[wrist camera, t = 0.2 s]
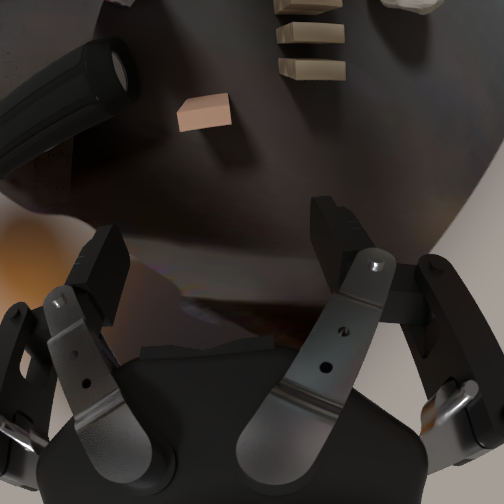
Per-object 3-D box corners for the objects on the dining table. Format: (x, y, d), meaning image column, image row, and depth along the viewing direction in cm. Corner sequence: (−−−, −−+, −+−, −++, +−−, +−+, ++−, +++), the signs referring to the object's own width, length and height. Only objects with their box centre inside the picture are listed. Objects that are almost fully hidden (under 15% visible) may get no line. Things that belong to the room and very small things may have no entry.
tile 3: (275, 28, 27) (292, 22, 20) (316, 29, 28) (343, 24, 21) (277, 43, 29) (294, 41, 22) (317, 43, 29) (344, 43, 22)
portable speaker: (13, 168, 33) (-22, 200, 26) (-9, 116, 27) (-50, 140, 19) (150, 99, 32) (126, 116, 24) (128, 31, 26) (97, 27, 18)
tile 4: (278, 58, 30) (295, 60, 23) (318, 58, 30) (345, 61, 23) (279, 73, 31) (296, 80, 24) (318, 72, 31) (345, 80, 24)
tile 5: (187, 98, 32) (176, 112, 25) (227, 92, 32) (229, 104, 25) (189, 113, 34) (180, 131, 26) (229, 107, 34) (231, 124, 27)
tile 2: (273, 0, 25) (289, -15, 18) (314, 1, 25) (341, -11, 18) (274, 14, 26) (291, 3, 19) (315, 15, 26) (342, 6, 19)
